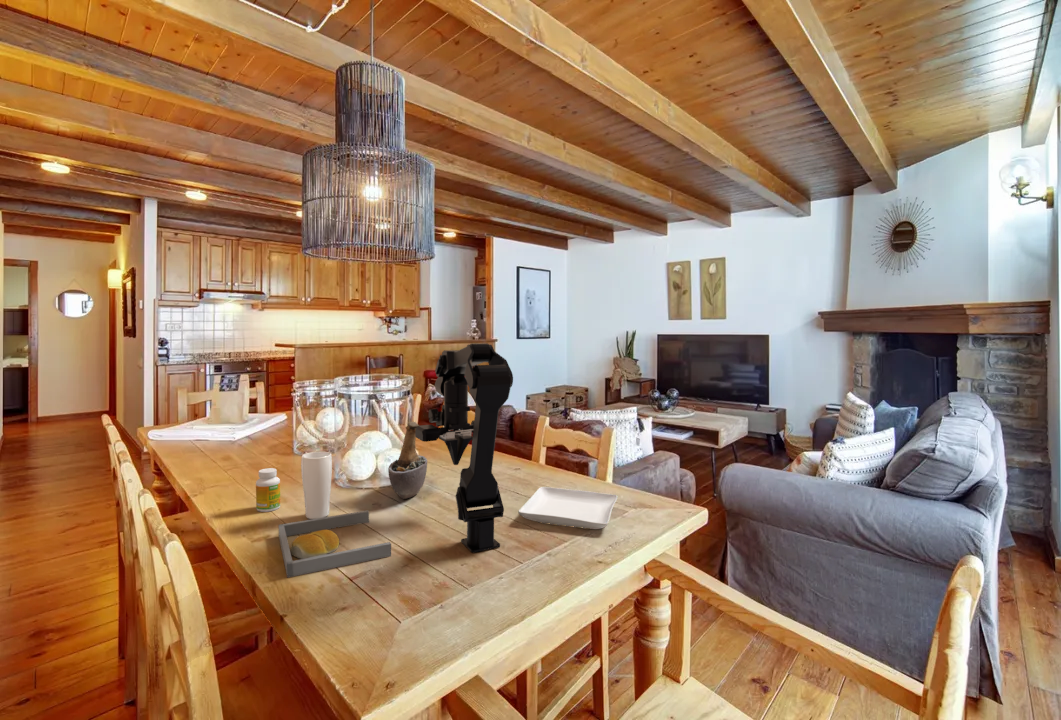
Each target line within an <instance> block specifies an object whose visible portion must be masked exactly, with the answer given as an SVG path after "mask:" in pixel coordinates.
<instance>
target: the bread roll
mask: <svg viewBox="0 0 1061 720" xmlns="http://www.w3.org/2000/svg"><path fill="white" fill-rule="evenodd" d="M339 543H340V539H339V536H338V535H337V533H335V531H332V530H331V529H326V530H320V531H315V532H309V533H308V534H307V533H304V534H300V535H299V536H297V537H296V538H295V539H294V540H293V541H292V543H291V545H290V553H291V556H294V557H295V558H297V559H298V560H300V559H306V558H311V557H316V556H321V555H326V554H331V553H335V552H336V550H338V547H339V545H340V544H339Z"/></svg>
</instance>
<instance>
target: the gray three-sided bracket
mask: <svg viewBox="0 0 1061 720" xmlns="http://www.w3.org/2000/svg"><path fill="white" fill-rule="evenodd" d="M369 522H370V511H369V510H368V509H367V510H361V511H356V512H349V513H348V512H347V513H342V514H337V515H331V516H326V517H324V518H317V519H306V520H300V521H294V522H293V521H292V522H288V523H283V524H282V523H281V524H278V539H279V544H280V550H281V553H282V554H281V555H282V559H283V563H284V568H285V573H286V578H292V577H297V576H298V577H299V576H302V575H307V574H311V573H316V572H321V571H325V570H331V569H335V568H336V569H337V568H340V567H344V566H350V565H354V564H359V563H363V562H368V561H369V562H370V561H373V560H379V559H383V558H387V557H391V556H392V543H391V542H390V541H388V542H383V543H377V544H373V545H372V544H371V545H367V546H363V547H358V548H353V549H346V550H342V551H338V552H337V551H335V552H332V553H329V554H325V555H321V556H316V557H311V558H306V559H296V560H293V557H292V554H291V548H290V546H289V541H288V537H291V536H296V535H297V536H298V535H304V534H307V533H308V534H310V533H312V532H315V531H320V530H332V529H337V528H336V527H338V528H341V527H342V528H343V527H348V526H354V525H360V524H365V523H369ZM331 528H332V529H331Z"/></svg>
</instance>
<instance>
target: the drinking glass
mask: <svg viewBox="0 0 1061 720" xmlns="http://www.w3.org/2000/svg"><path fill="white" fill-rule="evenodd" d="M332 459H333V458H332V452H328V451H311V452H307V453H303V454H302V455H301V459H300V460H301V465H300V466H301V480H302V491H303V499H304V508H305V511H304V512H305V514H304V515H305V518H307V519H308V520H311V519H317V518H324V517H329V515H330V503H331V501H330V500H331V489H332V476H333V460H332Z"/></svg>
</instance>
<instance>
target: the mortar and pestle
mask: <svg viewBox="0 0 1061 720" xmlns="http://www.w3.org/2000/svg"><path fill="white" fill-rule="evenodd" d="M418 426H420V424H419V423H417V422H416V421H408V422H407V425H406V427H405V430H406V431H405V435H404V437H403V438H404V439H403V443H402V447H401V451H400V454H399V457H398V459H395V460H394V461H393V462H391V463H390V464H389V465H388V470H387V472H388V478H389V484H390V486H391V488H392V490H393V492H395V493H396V494H397V496H398V497H399V498H400V499H403V500H407V499H410V498H413V497H414V496H416V495H417V494H418V493H420V491H421V488H422V487H423V486H424V484H425V480H426V477H427V469H428V459H427V457H425V456H423V455H419V454H418V453H417V450H416V441H417V440H416V439H417V438H416V437H415V430H416V428H417V427H418Z"/></svg>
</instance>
